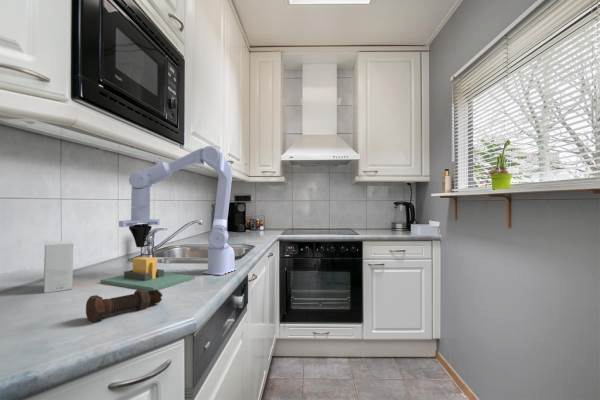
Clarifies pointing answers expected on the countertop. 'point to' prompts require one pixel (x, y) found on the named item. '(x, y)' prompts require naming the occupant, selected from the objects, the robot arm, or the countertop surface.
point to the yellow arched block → (145, 265)
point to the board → (147, 280)
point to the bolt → (120, 303)
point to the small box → (58, 266)
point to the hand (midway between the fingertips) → (140, 247)
